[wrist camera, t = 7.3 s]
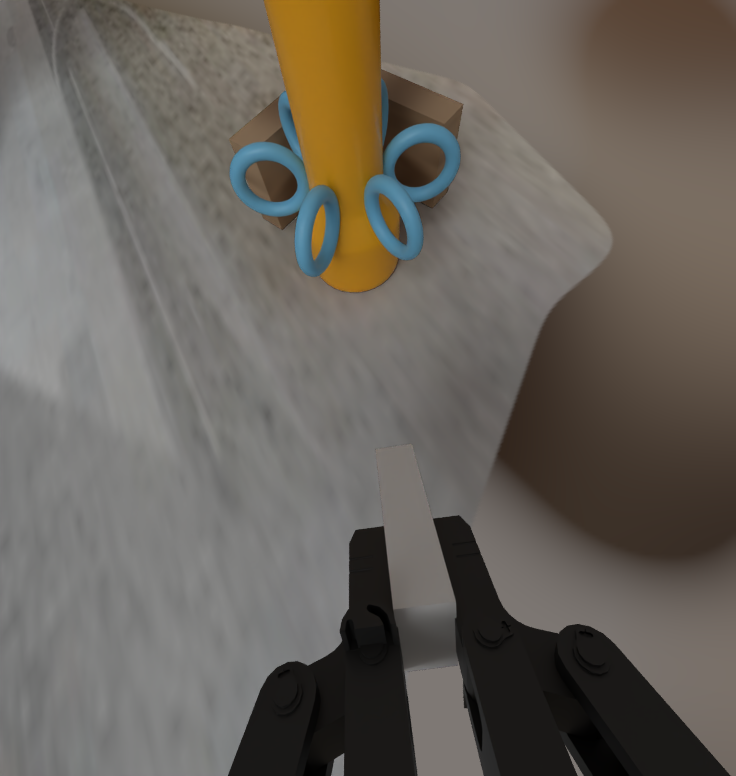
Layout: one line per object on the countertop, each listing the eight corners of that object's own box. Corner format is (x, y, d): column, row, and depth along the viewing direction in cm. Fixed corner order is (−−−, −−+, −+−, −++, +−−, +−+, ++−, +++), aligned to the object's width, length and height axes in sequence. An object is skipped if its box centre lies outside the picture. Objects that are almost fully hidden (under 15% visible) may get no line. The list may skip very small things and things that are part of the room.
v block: (451, 205, 26) (468, 120, 20) (263, 232, 26) (228, 155, 20) (430, 126, 29) (440, 32, 23) (261, 151, 29) (230, 64, 23)
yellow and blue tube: (471, 273, 24) (591, -72, 10) (350, 362, 22) (280, 103, 8) (362, 174, 27) (334, -183, 13) (251, 244, 26) (83, -79, 12)
